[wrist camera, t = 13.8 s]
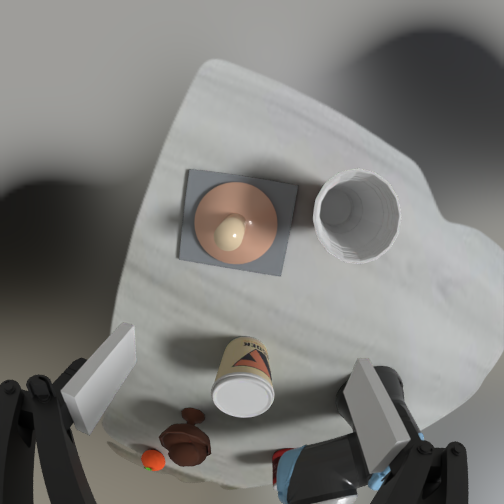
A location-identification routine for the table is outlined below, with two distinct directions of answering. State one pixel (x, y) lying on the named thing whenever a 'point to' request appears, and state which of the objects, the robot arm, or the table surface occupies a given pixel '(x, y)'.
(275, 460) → the canned food
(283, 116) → the table surface
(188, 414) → the ice cream bowl
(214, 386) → the coffee cup
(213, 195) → the lid
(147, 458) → the clementine
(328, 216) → the plastic cup
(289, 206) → the mat
